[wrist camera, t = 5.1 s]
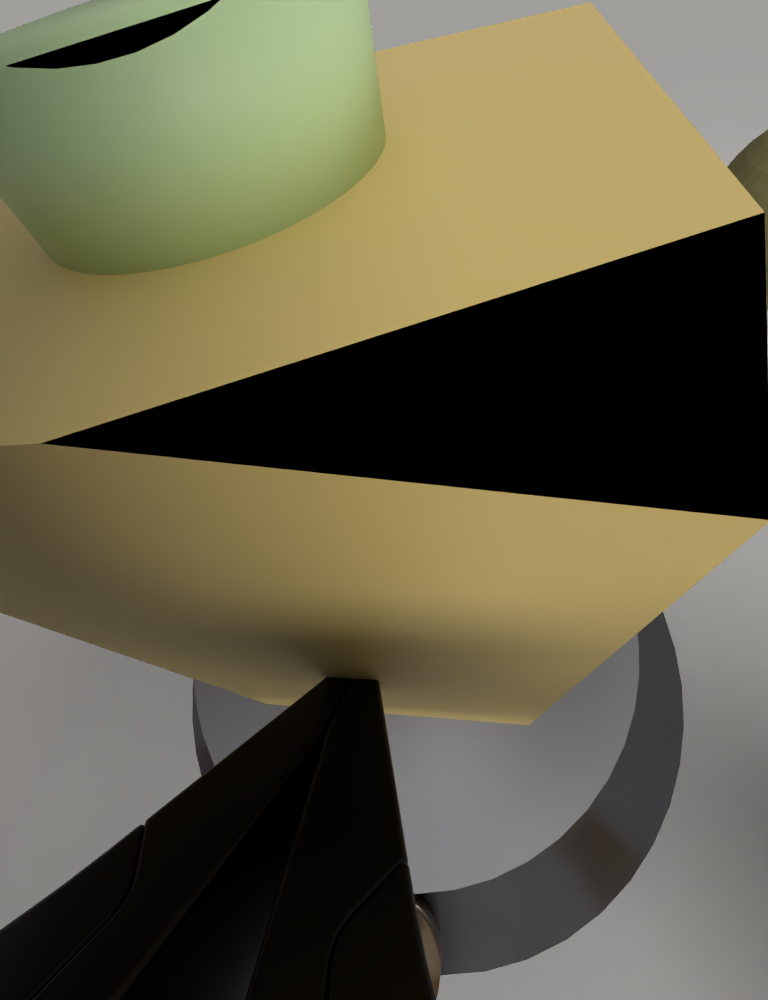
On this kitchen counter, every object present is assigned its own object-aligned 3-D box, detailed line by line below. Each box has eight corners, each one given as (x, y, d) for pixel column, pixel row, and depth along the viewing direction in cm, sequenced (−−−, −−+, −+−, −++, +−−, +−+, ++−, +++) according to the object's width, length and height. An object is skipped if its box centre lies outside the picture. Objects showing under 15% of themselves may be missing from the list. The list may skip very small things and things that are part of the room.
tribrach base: (750, 1052, 11) (856, 1166, 8) (142, 928, 14) (56, 973, 11) (612, 460, 20) (636, 410, 17) (265, 472, 24) (236, 432, 21)
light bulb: (795, 361, 21) (1010, 103, 13) (693, 400, 21) (841, 165, 13) (715, 302, 24) (846, 62, 16) (625, 336, 24) (708, 112, 16)
